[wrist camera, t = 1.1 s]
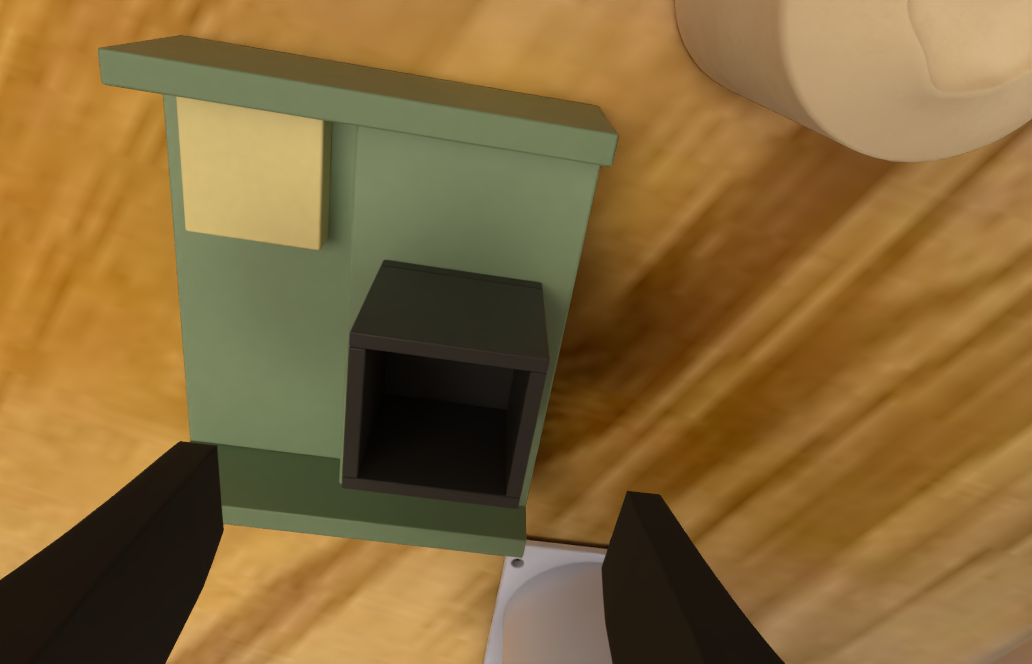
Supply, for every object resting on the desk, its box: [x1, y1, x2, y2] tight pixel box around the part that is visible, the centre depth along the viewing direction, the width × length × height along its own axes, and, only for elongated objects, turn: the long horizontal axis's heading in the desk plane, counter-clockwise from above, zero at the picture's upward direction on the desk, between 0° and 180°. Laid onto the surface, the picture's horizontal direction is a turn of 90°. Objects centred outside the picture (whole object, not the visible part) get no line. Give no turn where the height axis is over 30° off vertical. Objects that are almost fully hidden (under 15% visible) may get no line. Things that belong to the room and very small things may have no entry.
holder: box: [341, 260, 550, 509], centre depth 18 cm, size 5×5×4 cm
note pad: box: [176, 96, 332, 250], centre depth 19 cm, size 4×4×1 cm
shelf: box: [98, 35, 619, 558], centre depth 20 cm, size 14×12×4 cm
